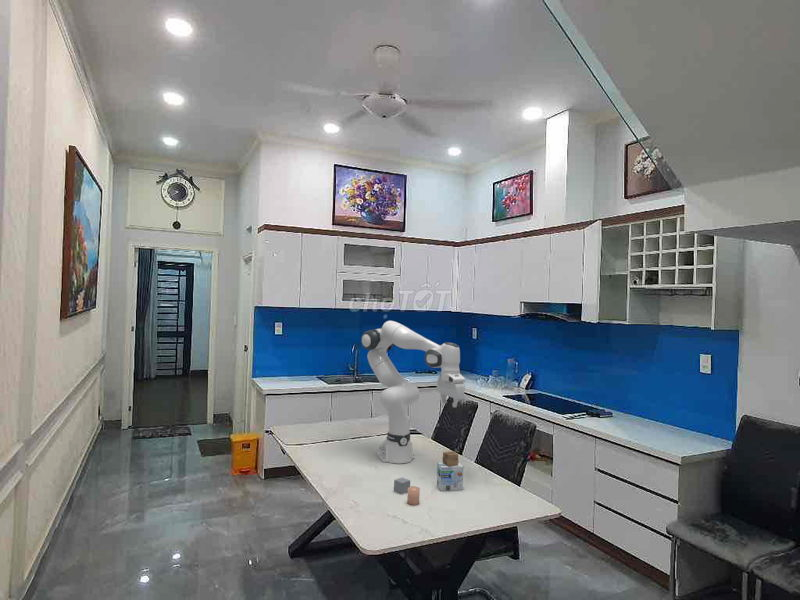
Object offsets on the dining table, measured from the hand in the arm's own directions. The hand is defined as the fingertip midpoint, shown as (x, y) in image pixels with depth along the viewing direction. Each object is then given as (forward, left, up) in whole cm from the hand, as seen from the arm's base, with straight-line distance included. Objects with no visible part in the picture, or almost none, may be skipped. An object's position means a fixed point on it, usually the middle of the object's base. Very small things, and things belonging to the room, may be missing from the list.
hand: (449, 405), depth 244 cm
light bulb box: (+14, -7, -34) cm, 38 cm away
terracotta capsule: (+23, -30, -34) cm, 51 cm away
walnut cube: (+14, -7, -23) cm, 28 cm away
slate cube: (+10, -29, -34) cm, 46 cm away
